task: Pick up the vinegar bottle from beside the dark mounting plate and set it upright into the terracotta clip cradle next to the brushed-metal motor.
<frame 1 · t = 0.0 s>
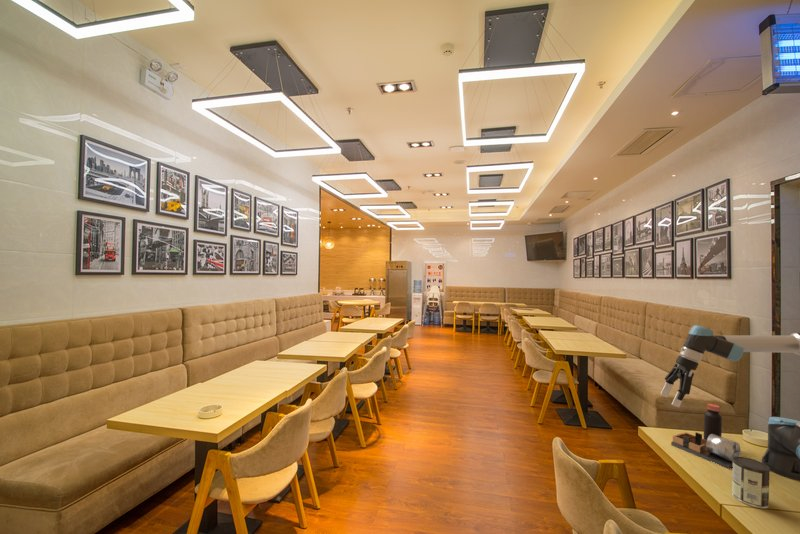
hand: (669, 400, 161), 28 cm above the table, tool tilted 20°, fingers open, 13 cm apart
vinegar: (712, 445, 180), on the table
motor mount: (705, 453, 170), on the table
coffee can: (749, 500, 135), on the table
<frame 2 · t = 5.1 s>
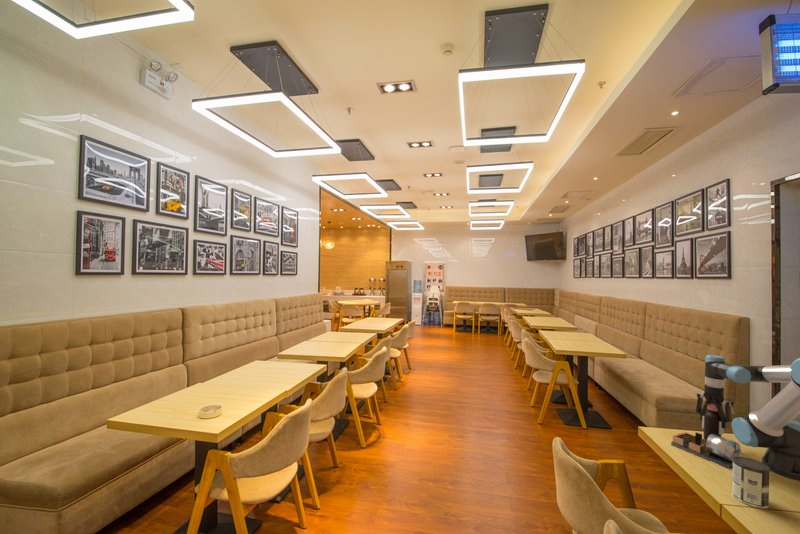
hand: (712, 430, 180), 7 cm above the table, tool pointing down, fingers closed on vinegar, 6 cm apart
vinegar: (712, 444, 180), on the table, touching gripper
everything else where it was.
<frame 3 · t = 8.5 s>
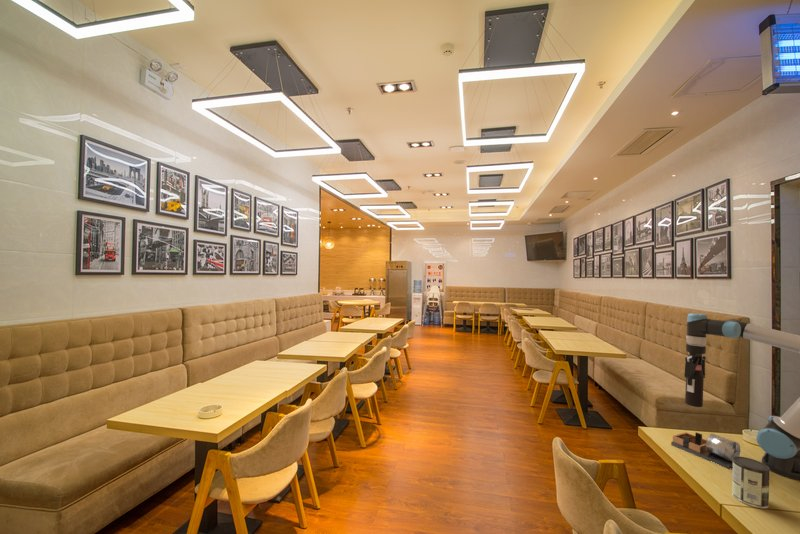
hand: (694, 390, 175), 29 cm above the table, tool pointing down, fingers closed on vinegar, 6 cm apart
vinegar: (693, 405, 175), point 21 cm above the table, touching gripper
everything else where it was.
when the fingers open (10 cm above the table, at t = 12.1 s): vinegar drops 2 cm, resting on motor mount.
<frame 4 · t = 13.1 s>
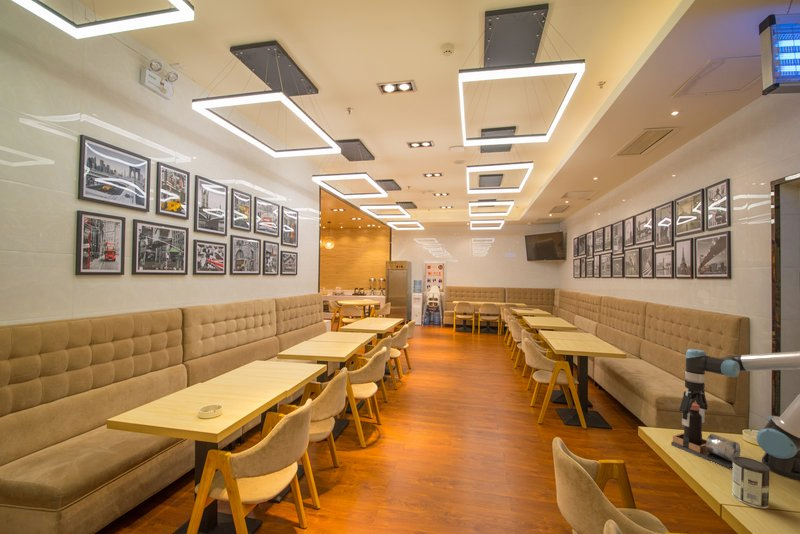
hand: (693, 423, 175), 12 cm above the table, tool pointing down, fingers open, 13 cm apart
vinegar: (692, 445, 175), point 1 cm above the table, touching motor mount
everything else where it was.
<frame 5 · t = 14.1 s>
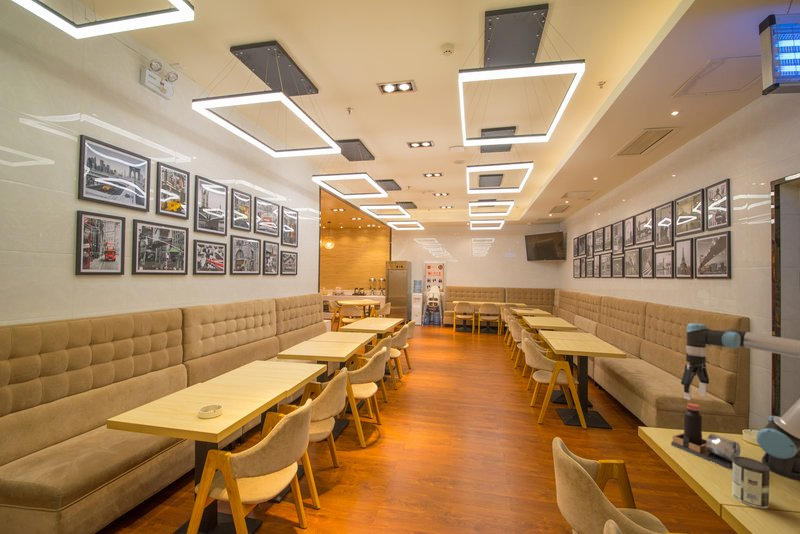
hand: (694, 397, 175), 25 cm above the table, tool pointing down, fingers open, 13 cm apart
nothing on the table moved.
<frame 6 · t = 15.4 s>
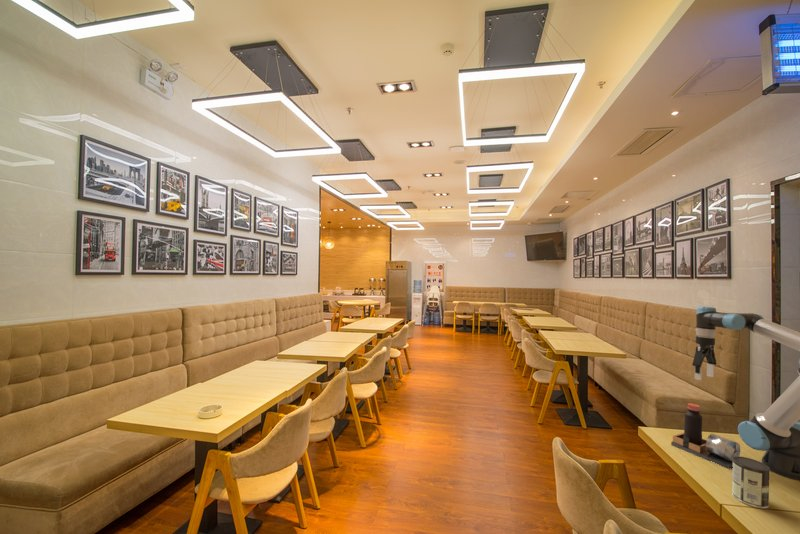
hand: (704, 378, 181), 34 cm above the table, tool pointing down, fingers open, 13 cm apart
nothing on the table moved.
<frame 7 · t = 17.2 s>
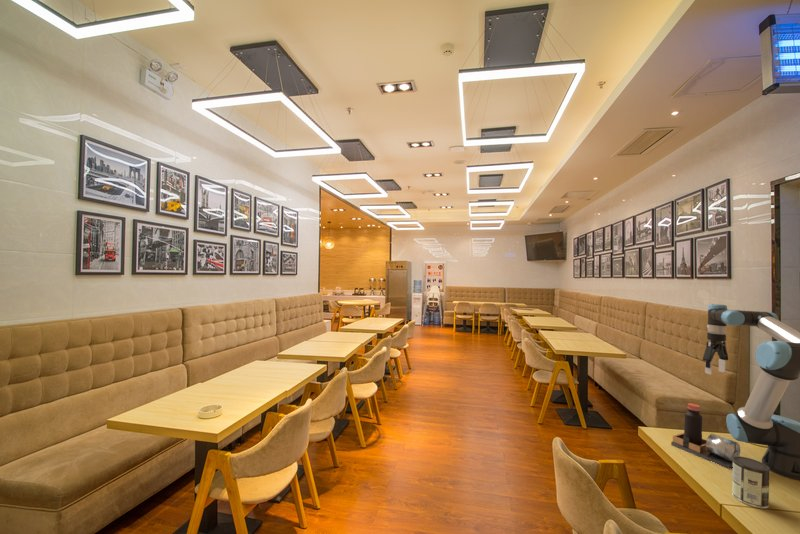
hand: (715, 372, 188), 35 cm above the table, tool pointing down, fingers open, 13 cm apart
nothing on the table moved.
at the end: vinegar 0.0 cm from the target spot on the motor mount, point 1.3 cm above the motor mount's base; vinegar tilted 0°; the gripper is holding nothing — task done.
